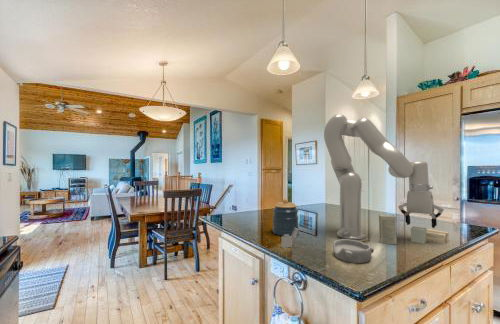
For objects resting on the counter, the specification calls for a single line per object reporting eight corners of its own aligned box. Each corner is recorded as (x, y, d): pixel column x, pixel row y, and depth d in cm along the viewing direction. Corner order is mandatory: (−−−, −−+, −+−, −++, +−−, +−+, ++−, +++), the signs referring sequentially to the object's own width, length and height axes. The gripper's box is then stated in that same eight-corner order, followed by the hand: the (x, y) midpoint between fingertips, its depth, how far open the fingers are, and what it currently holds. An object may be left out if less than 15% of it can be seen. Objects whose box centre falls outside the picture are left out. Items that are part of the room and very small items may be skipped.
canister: (302, 232, 129) (302, 198, 130) (292, 238, 118) (292, 200, 119) (279, 229, 136) (279, 196, 136) (268, 234, 125) (268, 198, 126)
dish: (352, 267, 85) (352, 252, 85) (324, 254, 98) (324, 241, 98) (382, 260, 91) (382, 246, 91) (352, 249, 103) (352, 237, 104)
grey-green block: (423, 243, 111) (423, 230, 111) (410, 241, 115) (410, 228, 115) (426, 241, 114) (426, 228, 115) (413, 239, 118) (413, 226, 118)
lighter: (282, 248, 104) (282, 228, 104) (281, 246, 106) (281, 227, 106) (298, 247, 105) (298, 228, 105) (297, 246, 107) (297, 227, 107)
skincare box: (394, 242, 113) (394, 214, 113) (396, 244, 109) (396, 216, 109) (378, 240, 115) (378, 213, 115) (380, 243, 111) (380, 215, 111)
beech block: (444, 244, 111) (444, 235, 111) (423, 240, 117) (422, 231, 117) (448, 241, 116) (448, 232, 116) (428, 237, 122) (428, 229, 122)
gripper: (443, 188, 111) (446, 227, 111) (400, 187, 124) (401, 222, 123) (440, 189, 106) (442, 230, 106) (395, 188, 119) (397, 224, 118)
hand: (420, 225), depth 114 cm, fingers open, 9 cm apart
